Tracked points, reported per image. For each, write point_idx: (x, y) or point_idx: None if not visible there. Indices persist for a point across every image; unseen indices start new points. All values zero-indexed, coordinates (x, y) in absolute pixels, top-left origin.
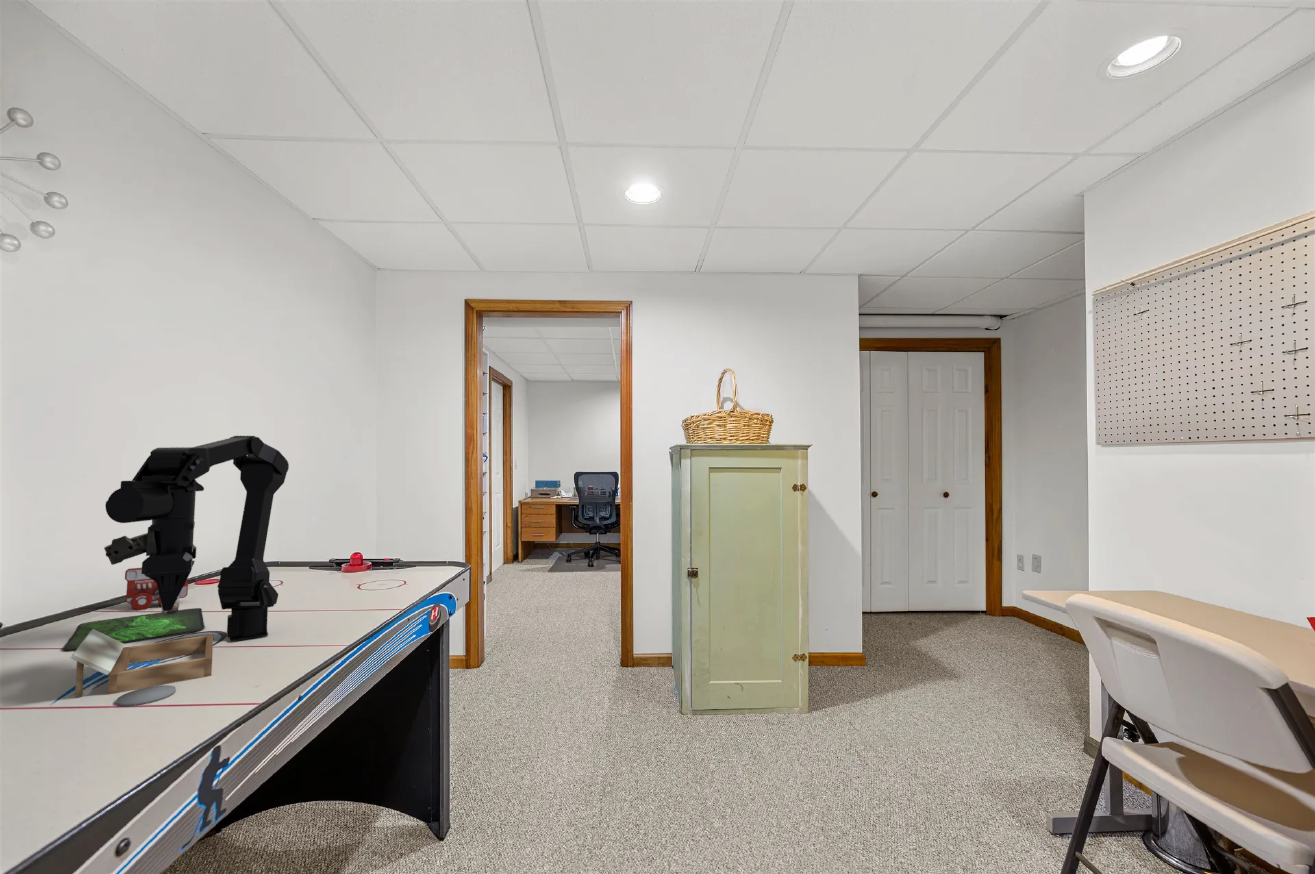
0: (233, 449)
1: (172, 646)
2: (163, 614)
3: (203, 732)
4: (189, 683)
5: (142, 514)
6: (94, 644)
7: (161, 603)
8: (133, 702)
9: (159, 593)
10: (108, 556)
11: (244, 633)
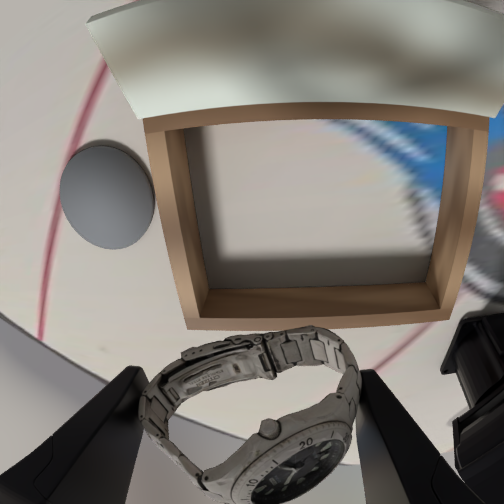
0: None
1: (452, 229)
2: (235, 336)
3: None
4: (160, 265)
5: None
6: (353, 22)
7: (100, 391)
8: (62, 187)
9: (55, 434)
10: None
11: (462, 349)
